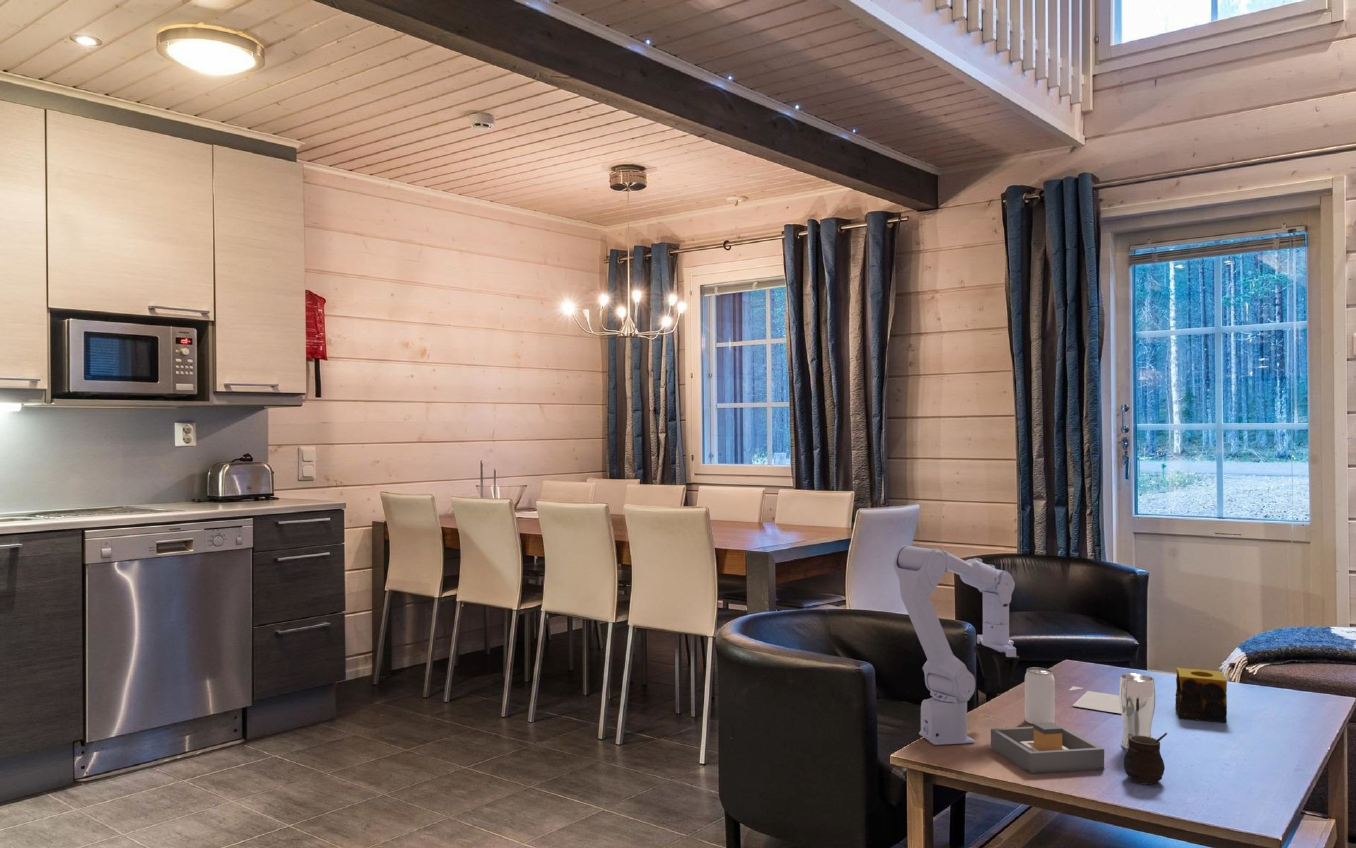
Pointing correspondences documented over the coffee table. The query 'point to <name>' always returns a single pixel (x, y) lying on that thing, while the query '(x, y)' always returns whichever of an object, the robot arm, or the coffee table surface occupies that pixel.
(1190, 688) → the candle
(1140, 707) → the beer glass
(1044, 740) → the plug
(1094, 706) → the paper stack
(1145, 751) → the mate gourd
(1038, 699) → the can
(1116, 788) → the coffee table surface
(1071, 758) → the box
